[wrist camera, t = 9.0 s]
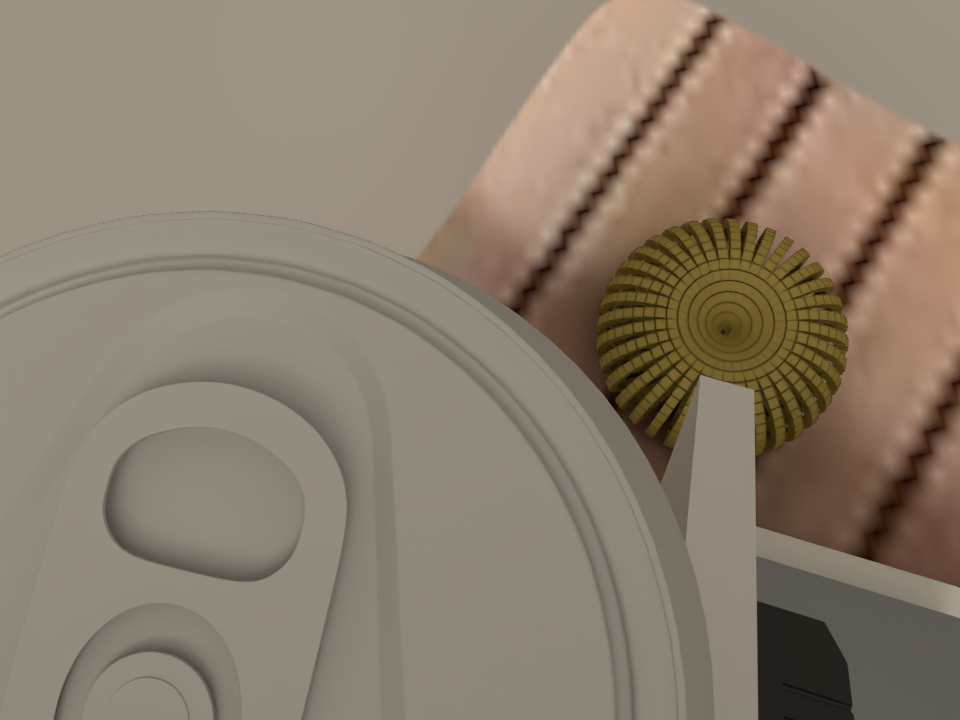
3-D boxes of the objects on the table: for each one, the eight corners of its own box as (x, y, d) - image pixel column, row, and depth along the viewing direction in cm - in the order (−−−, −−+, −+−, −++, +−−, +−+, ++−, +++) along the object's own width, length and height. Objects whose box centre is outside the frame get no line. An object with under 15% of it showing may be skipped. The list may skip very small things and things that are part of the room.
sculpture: (695, 152, 29) (918, 291, 27) (677, 204, 32) (870, 329, 31) (548, 345, 27) (772, 504, 26) (547, 376, 31) (741, 515, 29)
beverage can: (205, 763, 16) (-707, 1254, 4) (302, 416, 17) (-173, 64, 6) (558, 858, 15) (641, 1765, 3) (628, 487, 17) (850, 253, 5)
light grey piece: (1214, 686, 27) (1360, 708, 22) (1177, 1001, 25) (1329, 1100, 20) (401, 439, 31) (376, 412, 26) (315, 699, 29) (269, 722, 24)
